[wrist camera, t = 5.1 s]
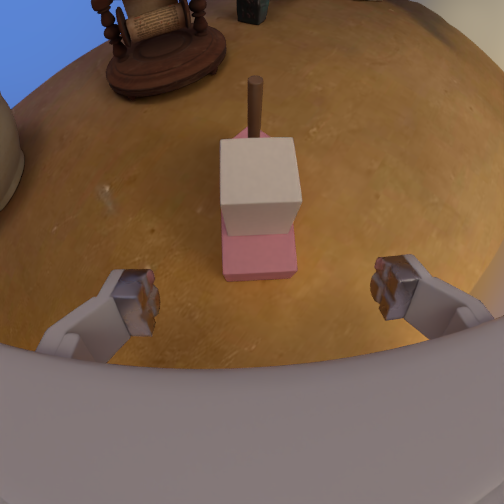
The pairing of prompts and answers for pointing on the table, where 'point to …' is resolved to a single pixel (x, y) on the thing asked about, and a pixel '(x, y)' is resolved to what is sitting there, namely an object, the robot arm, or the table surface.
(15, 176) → the planter bowl
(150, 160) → the table surface
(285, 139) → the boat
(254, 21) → the ceramic cat
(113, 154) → the table surface
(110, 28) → the scroll
